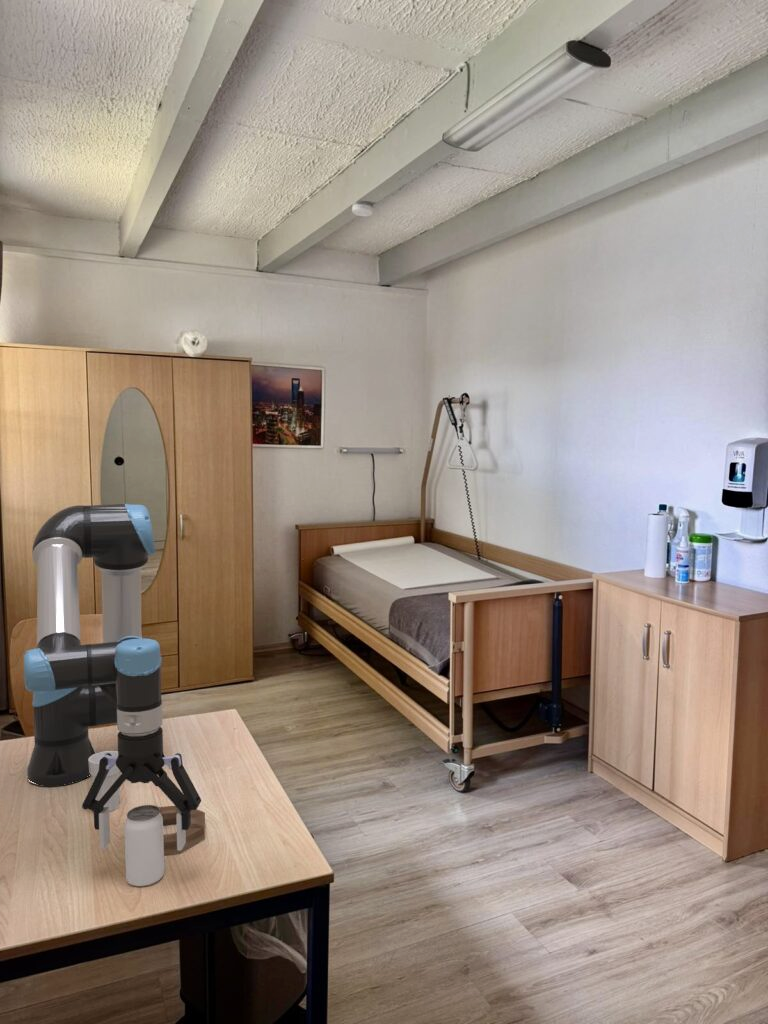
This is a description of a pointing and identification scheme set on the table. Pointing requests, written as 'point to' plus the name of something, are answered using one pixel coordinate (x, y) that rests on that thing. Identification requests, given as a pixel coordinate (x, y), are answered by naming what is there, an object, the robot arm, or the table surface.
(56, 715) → the robot arm
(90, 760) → the cup
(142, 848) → the can
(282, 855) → the table surface
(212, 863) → the table surface
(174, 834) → the brown octagonal frame
